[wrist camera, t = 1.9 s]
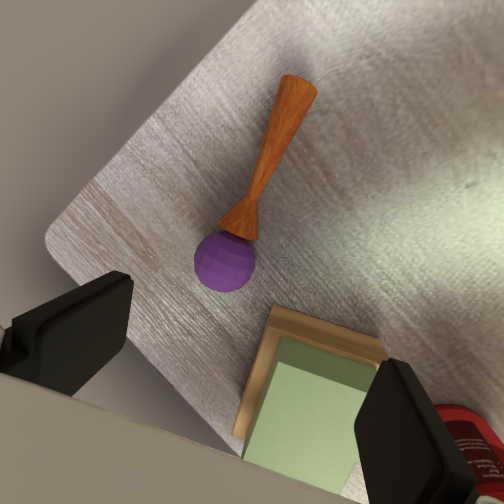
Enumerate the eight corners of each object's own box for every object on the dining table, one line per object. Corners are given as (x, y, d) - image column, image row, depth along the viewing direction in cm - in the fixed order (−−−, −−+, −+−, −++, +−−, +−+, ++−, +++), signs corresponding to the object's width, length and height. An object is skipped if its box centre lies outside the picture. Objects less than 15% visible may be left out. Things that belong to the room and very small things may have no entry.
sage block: (281, 335, 27) (278, 361, 23) (376, 367, 26) (389, 400, 22) (245, 437, 30) (237, 474, 27) (327, 468, 30) (330, 511, 26)
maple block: (272, 303, 31) (267, 325, 27) (380, 339, 30) (394, 369, 26) (240, 401, 35) (230, 435, 31) (334, 436, 34) (339, 477, 30)
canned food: (467, 470, 32) (546, 609, 22) (398, 442, 33) (444, 565, 22) (504, 420, 30) (613, 548, 20) (431, 391, 31) (497, 501, 20)
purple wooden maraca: (341, 90, 22) (240, 311, 26) (320, 109, 28) (241, 287, 32) (271, 54, 21) (179, 288, 25) (264, 81, 27) (190, 267, 31)
